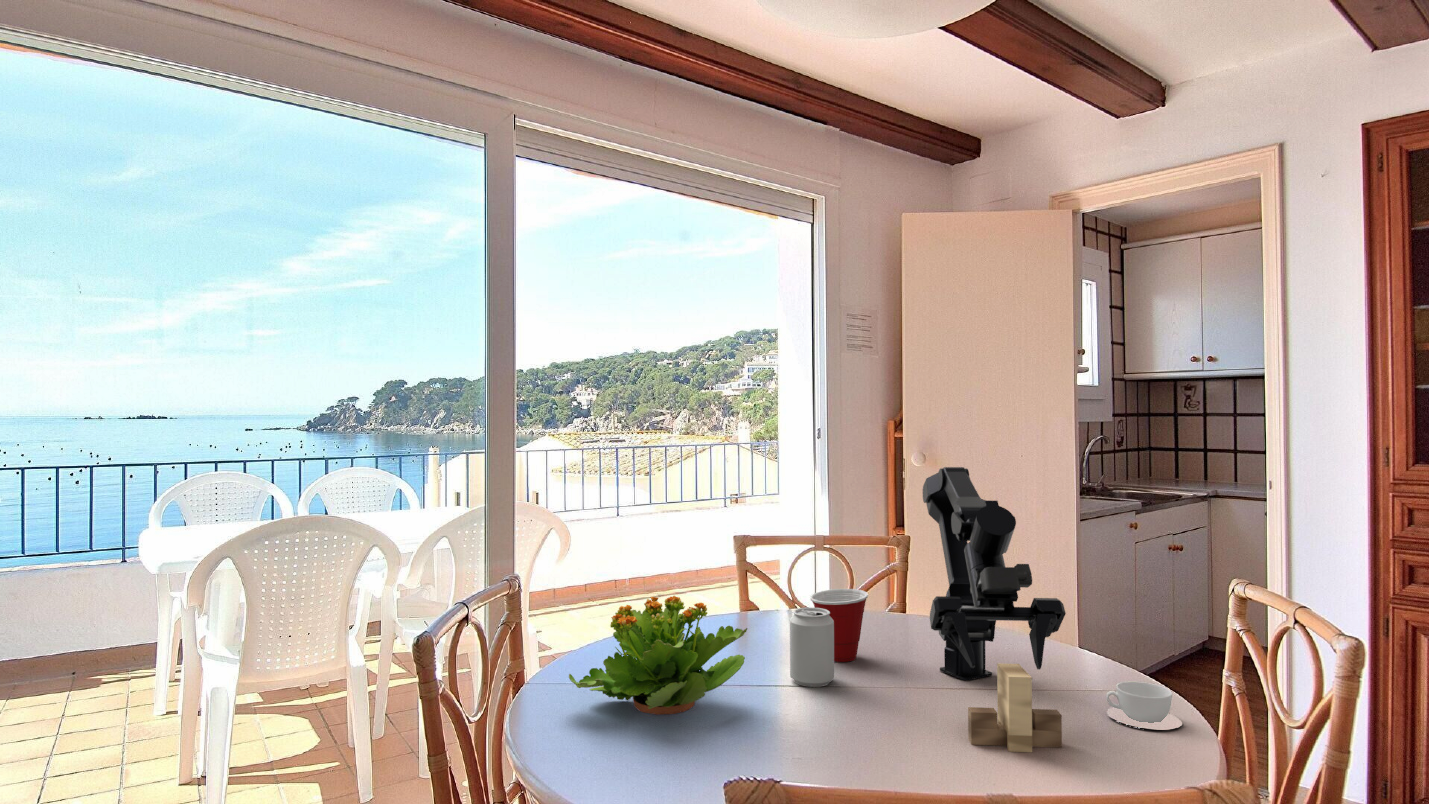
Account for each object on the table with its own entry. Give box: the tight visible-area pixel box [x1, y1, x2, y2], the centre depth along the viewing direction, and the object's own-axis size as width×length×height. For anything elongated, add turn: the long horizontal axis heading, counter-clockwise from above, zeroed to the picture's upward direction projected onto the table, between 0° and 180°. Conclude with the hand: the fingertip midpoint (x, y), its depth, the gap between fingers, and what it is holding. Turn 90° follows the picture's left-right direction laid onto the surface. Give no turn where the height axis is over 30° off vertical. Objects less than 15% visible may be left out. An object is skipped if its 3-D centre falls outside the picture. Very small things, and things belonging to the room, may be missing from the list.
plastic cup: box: [809, 588, 869, 663], centre depth 154 cm, size 11×11×12 cm
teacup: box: [1106, 680, 1173, 729], centre depth 122 cm, size 10×10×5 cm
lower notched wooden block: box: [967, 706, 1063, 748], centre depth 114 cm, size 12×2×4 cm, turn 85°
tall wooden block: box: [996, 662, 1033, 753], centre depth 114 cm, size 6×3×10 cm, turn 175°
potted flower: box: [568, 595, 748, 716], centre depth 130 cm, size 25×24×18 cm
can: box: [789, 606, 835, 688], centre depth 141 cm, size 8×8×12 cm
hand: (1006, 667), depth 118 cm, fingers open, 9 cm apart
